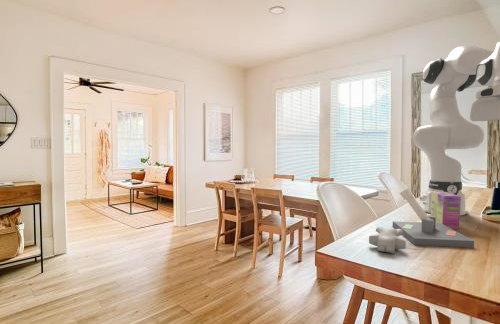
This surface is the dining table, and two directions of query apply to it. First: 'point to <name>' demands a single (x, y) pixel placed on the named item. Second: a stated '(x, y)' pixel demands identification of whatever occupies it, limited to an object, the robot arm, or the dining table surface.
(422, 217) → the breaker lever
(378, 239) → the bunny figurine
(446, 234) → the breaker panel
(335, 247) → the dining table surface
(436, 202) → the box
